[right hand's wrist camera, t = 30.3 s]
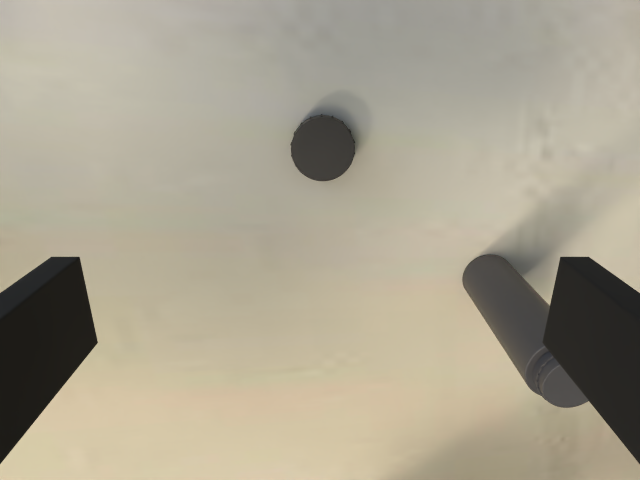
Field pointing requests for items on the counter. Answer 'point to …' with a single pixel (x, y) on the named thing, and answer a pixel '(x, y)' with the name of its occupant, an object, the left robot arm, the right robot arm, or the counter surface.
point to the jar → (520, 327)
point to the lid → (322, 148)
